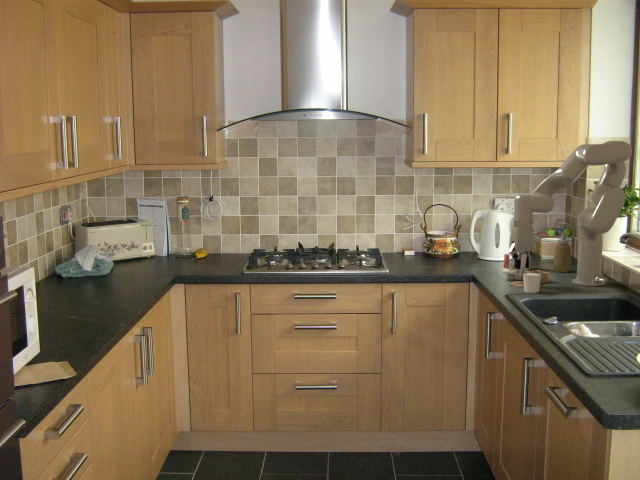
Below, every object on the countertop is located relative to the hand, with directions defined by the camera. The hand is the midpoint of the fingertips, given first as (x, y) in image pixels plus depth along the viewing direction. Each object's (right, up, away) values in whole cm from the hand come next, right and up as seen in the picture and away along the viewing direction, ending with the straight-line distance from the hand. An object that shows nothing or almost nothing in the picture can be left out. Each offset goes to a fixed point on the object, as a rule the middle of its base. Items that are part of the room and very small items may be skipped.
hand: (521, 267), depth 298 cm
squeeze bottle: (+26, -3, +28) cm, 39 cm away
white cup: (+1, -9, -11) cm, 14 cm away
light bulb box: (+9, -3, +33) cm, 34 cm away
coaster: (0, -7, +1) cm, 7 cm away
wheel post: (0, -6, +11) cm, 12 cm away
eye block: (+9, -6, +8) cm, 13 cm away
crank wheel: (0, -3, +10) cm, 11 cm away
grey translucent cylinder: (0, -5, +2) cm, 5 cm away
